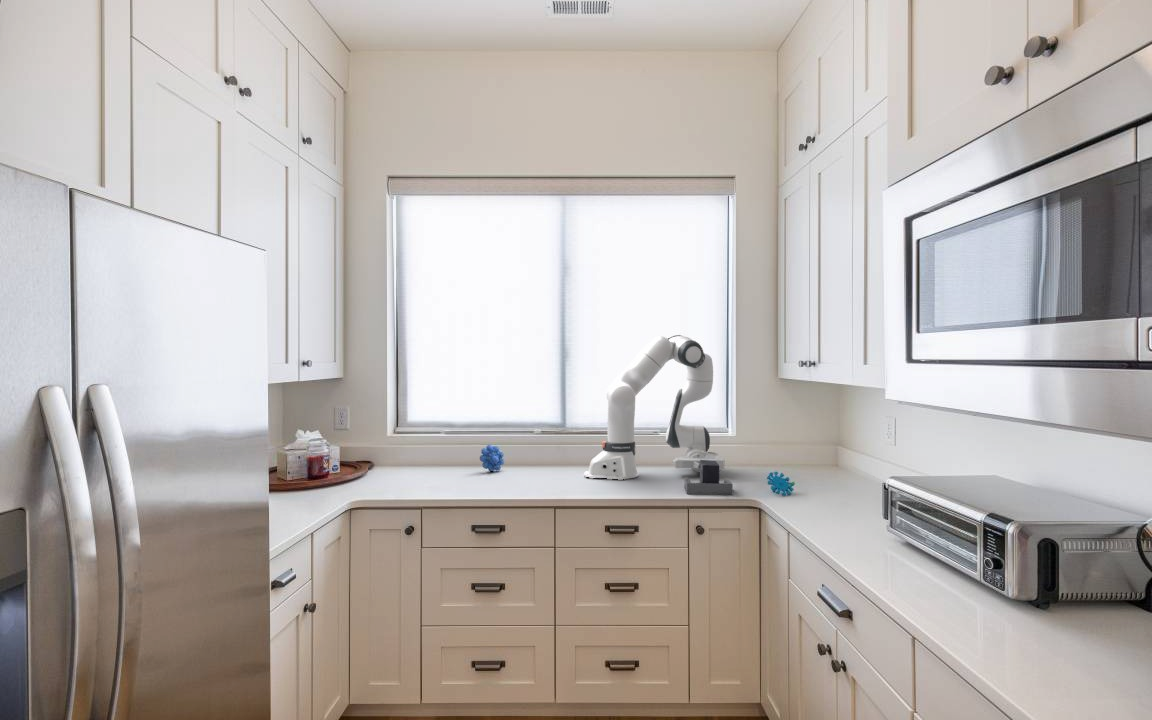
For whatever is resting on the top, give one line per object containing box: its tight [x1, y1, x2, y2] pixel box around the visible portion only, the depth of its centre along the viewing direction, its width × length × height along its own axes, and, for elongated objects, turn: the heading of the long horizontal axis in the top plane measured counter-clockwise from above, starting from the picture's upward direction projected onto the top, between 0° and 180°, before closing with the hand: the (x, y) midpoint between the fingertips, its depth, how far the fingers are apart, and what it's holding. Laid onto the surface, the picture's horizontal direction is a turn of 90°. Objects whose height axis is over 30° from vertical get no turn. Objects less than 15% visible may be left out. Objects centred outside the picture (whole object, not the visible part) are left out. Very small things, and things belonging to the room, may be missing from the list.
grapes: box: [479, 444, 505, 472], centre depth 256 cm, size 12×7×12 cm, turn 126°
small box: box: [699, 460, 720, 483], centre depth 219 cm, size 11×6×10 cm, turn 174°
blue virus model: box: [766, 470, 796, 497], centre depth 214 cm, size 11×6×10 cm
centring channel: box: [683, 477, 733, 496], centre depth 217 cm, size 16×10×4 cm, turn 85°
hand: (701, 466), depth 237 cm, fingers closed
